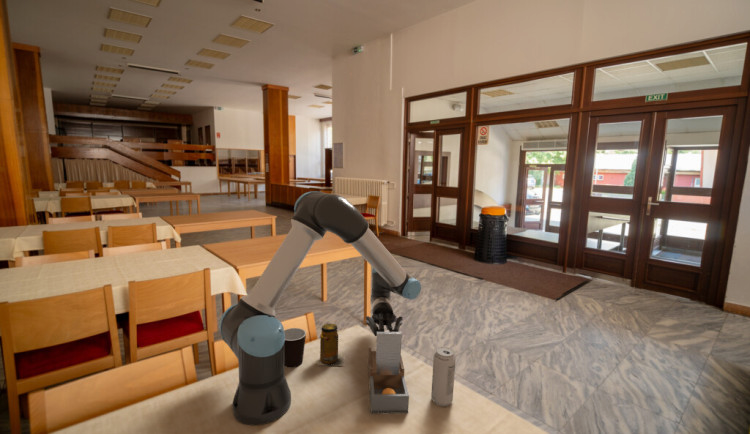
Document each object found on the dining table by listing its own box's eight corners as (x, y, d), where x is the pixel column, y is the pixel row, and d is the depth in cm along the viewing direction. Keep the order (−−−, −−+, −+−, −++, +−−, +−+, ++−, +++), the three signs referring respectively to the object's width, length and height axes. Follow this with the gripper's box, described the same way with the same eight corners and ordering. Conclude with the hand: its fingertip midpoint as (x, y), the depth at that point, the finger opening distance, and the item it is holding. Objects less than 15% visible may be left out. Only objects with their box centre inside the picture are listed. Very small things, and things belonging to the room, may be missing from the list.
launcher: (369, 391, 101) (370, 369, 100) (367, 368, 113) (368, 347, 112) (403, 391, 102) (404, 368, 101) (398, 368, 114) (399, 347, 113)
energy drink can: (436, 391, 103) (439, 343, 101) (455, 399, 99) (459, 350, 97) (427, 401, 98) (430, 352, 96) (447, 410, 94) (450, 359, 92)
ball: (380, 404, 93) (380, 387, 95) (382, 404, 97) (382, 388, 98) (395, 404, 92) (394, 387, 94) (397, 403, 96) (396, 387, 98)
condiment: (321, 353, 121) (321, 321, 119) (345, 355, 121) (346, 322, 119) (316, 365, 114) (317, 331, 112) (342, 366, 114) (343, 332, 112)
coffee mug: (299, 371, 110) (299, 342, 109) (274, 367, 112) (274, 338, 110) (313, 352, 122) (313, 325, 120) (290, 349, 123) (290, 322, 122)
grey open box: (371, 413, 92) (371, 396, 92) (369, 391, 101) (370, 376, 101) (408, 412, 93) (409, 395, 92) (403, 391, 102) (404, 375, 101)
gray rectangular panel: (375, 375, 99) (377, 333, 97) (375, 372, 100) (376, 331, 98) (399, 375, 99) (401, 333, 98) (399, 372, 101) (401, 331, 99)
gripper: (399, 321, 127) (409, 356, 104) (364, 321, 126) (366, 356, 103) (400, 301, 126) (410, 332, 102) (365, 301, 125) (366, 332, 102)
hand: (388, 344), depth 103 cm, fingers closed
